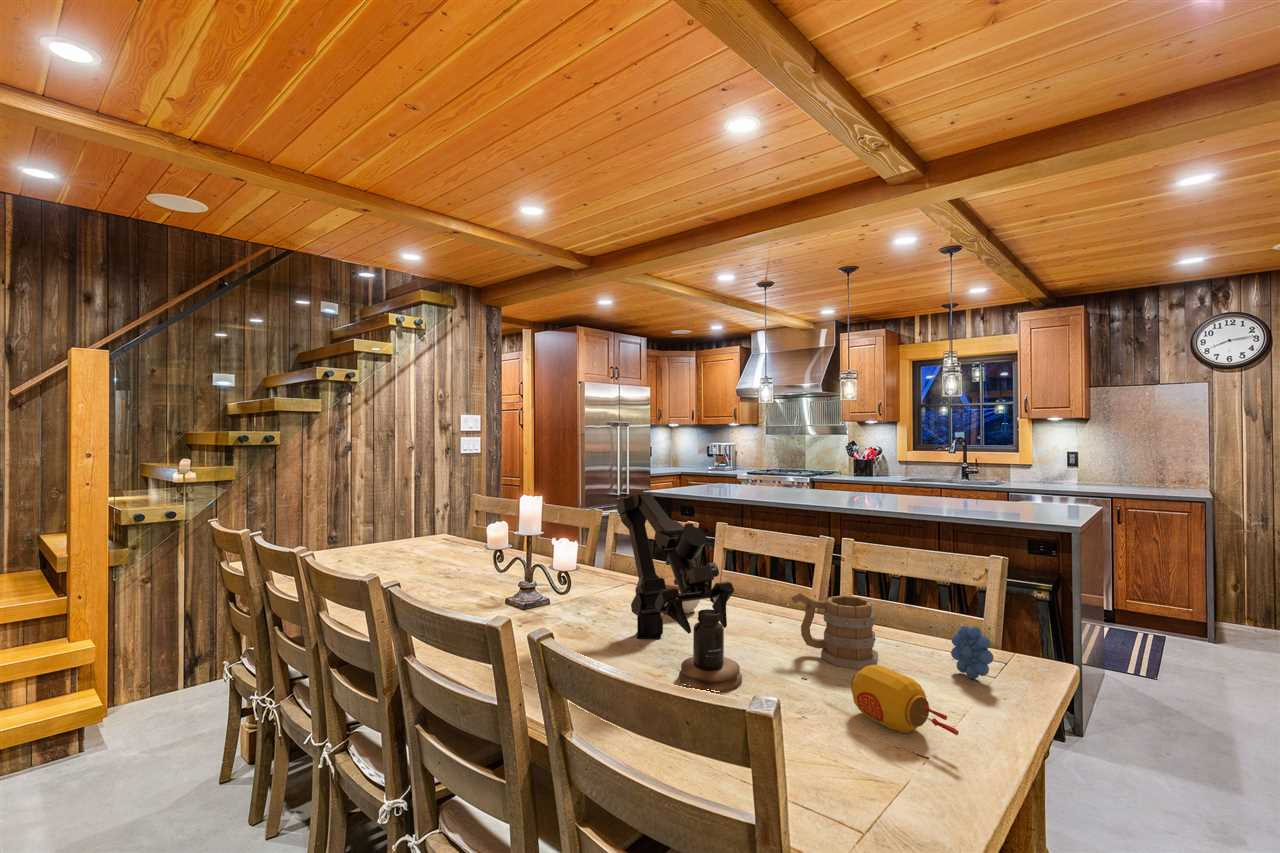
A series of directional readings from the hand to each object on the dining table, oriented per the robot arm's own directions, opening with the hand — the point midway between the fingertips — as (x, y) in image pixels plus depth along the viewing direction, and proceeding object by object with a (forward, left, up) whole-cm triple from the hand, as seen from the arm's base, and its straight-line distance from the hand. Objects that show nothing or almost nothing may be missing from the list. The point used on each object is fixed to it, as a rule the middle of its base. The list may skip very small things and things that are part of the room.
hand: (707, 629), depth 138 cm
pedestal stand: (0, -1, -11) cm, 11 cm away
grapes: (+59, +2, -11) cm, 60 cm away
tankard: (+31, +14, -11) cm, 36 cm away
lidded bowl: (-6, +51, -11) cm, 53 cm away
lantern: (+33, -20, -11) cm, 40 cm away
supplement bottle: (0, -1, -8) cm, 8 cm away
